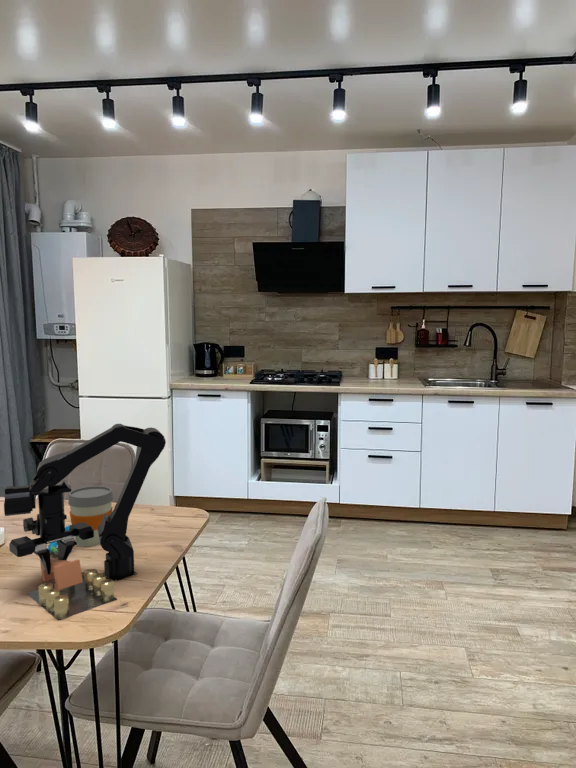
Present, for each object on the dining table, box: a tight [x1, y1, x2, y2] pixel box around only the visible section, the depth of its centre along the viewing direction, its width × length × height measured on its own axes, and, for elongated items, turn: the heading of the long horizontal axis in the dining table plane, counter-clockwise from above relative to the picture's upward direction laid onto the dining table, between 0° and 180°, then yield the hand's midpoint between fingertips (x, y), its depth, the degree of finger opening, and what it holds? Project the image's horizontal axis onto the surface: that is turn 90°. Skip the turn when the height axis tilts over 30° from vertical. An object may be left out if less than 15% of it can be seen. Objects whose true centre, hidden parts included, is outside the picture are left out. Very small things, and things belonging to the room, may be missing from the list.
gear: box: [47, 524, 73, 556], centre depth 165 cm, size 11×6×10 cm
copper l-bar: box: [40, 557, 83, 590], centre depth 143 cm, size 6×14×5 cm, turn 44°
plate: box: [25, 568, 118, 622], centre depth 138 cm, size 14×18×5 cm
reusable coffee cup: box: [67, 485, 114, 548], centre depth 174 cm, size 13×13×15 cm
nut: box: [53, 581, 75, 595], centre depth 141 cm, size 4×5×2 cm
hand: (54, 572), depth 144 cm, fingers closed on copper l-bar, 3 cm apart
